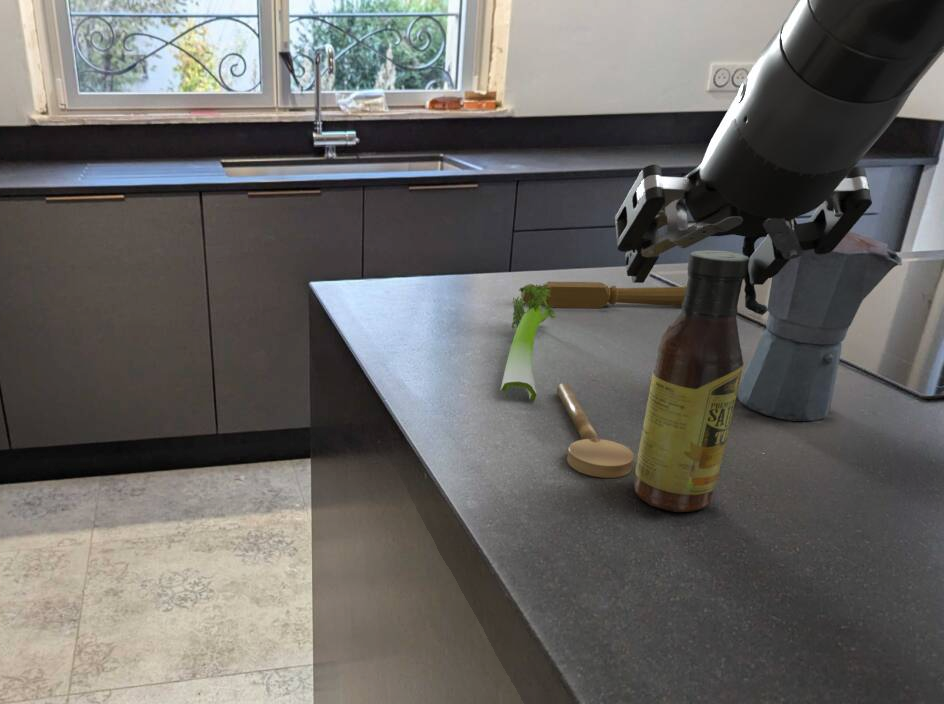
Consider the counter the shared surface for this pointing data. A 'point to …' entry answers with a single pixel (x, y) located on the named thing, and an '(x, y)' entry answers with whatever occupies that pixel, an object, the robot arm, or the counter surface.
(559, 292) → the tap handle
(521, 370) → the celery stalk
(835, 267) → the moka pot
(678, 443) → the sauce bottle
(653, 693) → the counter surface
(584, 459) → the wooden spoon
